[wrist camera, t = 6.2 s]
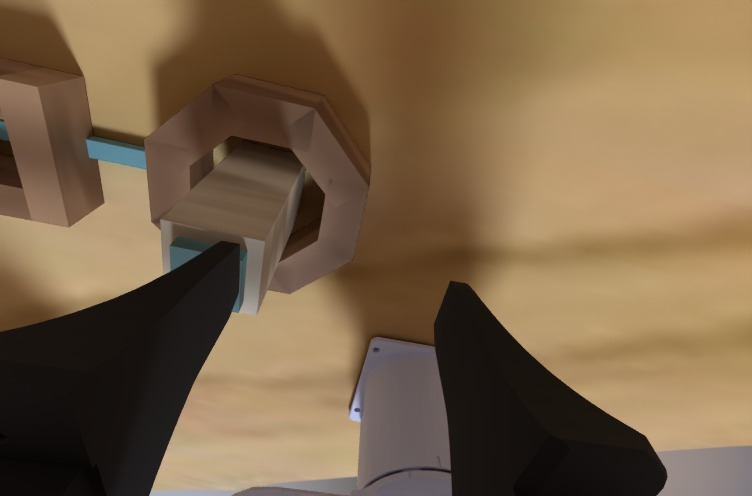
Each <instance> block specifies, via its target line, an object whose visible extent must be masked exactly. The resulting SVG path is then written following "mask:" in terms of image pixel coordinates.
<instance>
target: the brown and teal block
mask: <svg viewBox="0 0 752 496" xmlns="http://www.w3.org/2000/svg"><path fill="white" fill-rule="evenodd" d="M305 171H306V168H305V167H304V165H303V164H302V163H301V162H300V160H299V159H298V158H297V156H296V155H295V154H294V153H290V152H285V151H281V150H277V149H273V148H269V147H265V146H260V145H256V144H252V143H248V142H244V141H243V142H241V143H240V144H239V145H238V146H237V147H236V148H235V149H234V150H233V151H232V152H231V153H230V154H229V155H228V156H227V157H226V158H225V159H224V160H222V161H221V162H220V163H219V164H218V165H217V166H216V167H215V168H214V169H213V170H212V171H211V172H210V173H209V174H208V175H207V176H206V177H204V178H203V179H202V180H201V181H200V182H199V183H198V184H197V185H196V186H195V187H194V188H193V189H192V190H191V191H190V192H189V193H188V194H187V195H185V196H184V197H183V198H182V199H181V200H180V201H179V202H178V203H177V204H176V205H175V206H174V207H173V208H172V209H171V210H170V211H169V212H167V213H166V214H165V215H164V216H163V217H162V218H161V219H160V223H161V241H162V259H163V275H164V274H166V273H168V272H170V271H172V270H174V269H176V268H177V267H179V266H181V265H182V264H184V263H186V262H187V261H189V260H191V259H192V258H194V257H196V256H197V255H199V254H200V253H202V252H204V251H205V250H207V249H208V248H210V247H212V246H213V245H215V244H216V243H218V242H220V241H227V242H232V243H238V244H240V274H239V294H238V297H237V299H236V302H235V305H234V307H233V310H232V312H237V313H239V312H240V313H245V314H250V315H256V316H257V314H258V311H259V309H260V306H261V304H262V301H263V299H264V297H265V294H266V292H267V289H268V287H269V284H270V282H271V280H272V277H273V275H274V272H275V270H276V267H277V265H278V263H279V260H280V258H281V255H282V253H283V250H284V248H285V246H286V243H287V241H288V238H289V236H290V233H291V231H292V229H293V226H294V224H295V221H296V219H297V216H298V214H299V209H300V203H301V197H302V190H303V184H304V177H305Z"/></svg>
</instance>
